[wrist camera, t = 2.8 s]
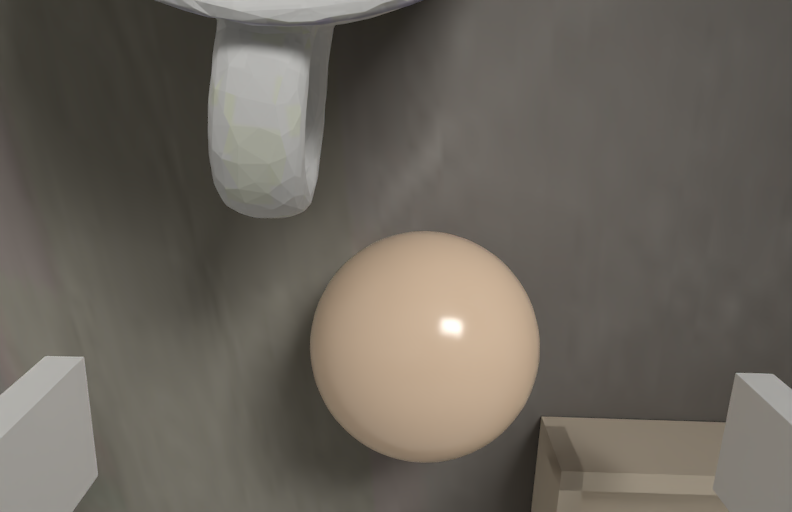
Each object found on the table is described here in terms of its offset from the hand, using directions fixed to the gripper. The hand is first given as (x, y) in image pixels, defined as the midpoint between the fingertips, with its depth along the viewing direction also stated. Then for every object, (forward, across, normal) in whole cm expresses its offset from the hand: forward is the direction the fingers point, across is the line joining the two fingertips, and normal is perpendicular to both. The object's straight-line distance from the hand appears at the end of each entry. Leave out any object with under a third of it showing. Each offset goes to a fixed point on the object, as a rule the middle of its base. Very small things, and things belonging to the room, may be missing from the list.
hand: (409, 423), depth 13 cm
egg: (+6, 0, 0) cm, 6 cm away
